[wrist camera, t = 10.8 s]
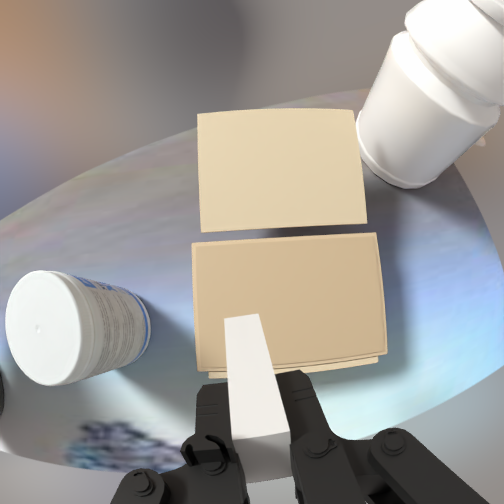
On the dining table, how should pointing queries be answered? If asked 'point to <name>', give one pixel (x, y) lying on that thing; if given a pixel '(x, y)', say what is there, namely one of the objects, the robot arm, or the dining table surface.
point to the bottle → (434, 91)
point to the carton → (292, 300)
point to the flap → (279, 169)
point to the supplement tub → (73, 327)
